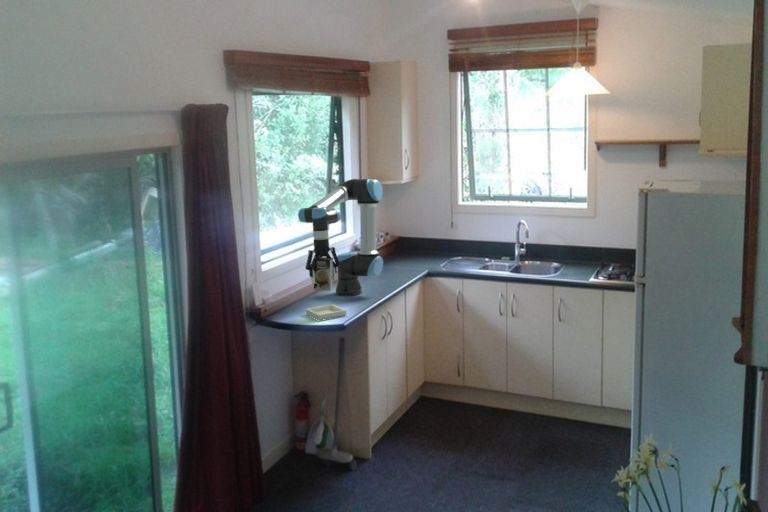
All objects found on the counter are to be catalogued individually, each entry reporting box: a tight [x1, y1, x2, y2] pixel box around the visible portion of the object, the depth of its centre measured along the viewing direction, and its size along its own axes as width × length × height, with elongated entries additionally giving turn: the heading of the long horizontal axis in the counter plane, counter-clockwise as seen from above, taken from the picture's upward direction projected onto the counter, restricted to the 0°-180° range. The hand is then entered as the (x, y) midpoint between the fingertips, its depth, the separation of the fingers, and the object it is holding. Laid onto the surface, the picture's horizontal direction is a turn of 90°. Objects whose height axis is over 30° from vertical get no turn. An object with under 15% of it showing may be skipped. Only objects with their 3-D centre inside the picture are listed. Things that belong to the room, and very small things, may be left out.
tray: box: [305, 303, 347, 321], centre depth 378 cm, size 15×15×3 cm
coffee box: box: [312, 256, 335, 292], centre depth 374 cm, size 9×6×16 cm
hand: (323, 281), depth 375 cm, fingers closed on coffee box, 11 cm apart
